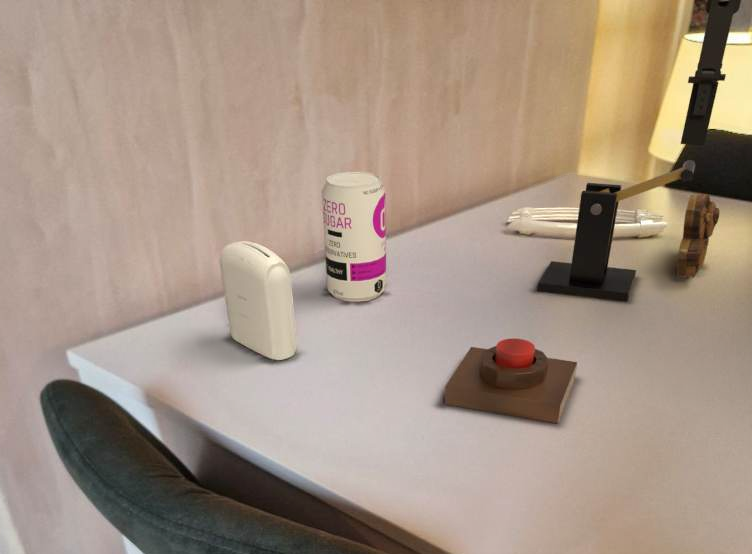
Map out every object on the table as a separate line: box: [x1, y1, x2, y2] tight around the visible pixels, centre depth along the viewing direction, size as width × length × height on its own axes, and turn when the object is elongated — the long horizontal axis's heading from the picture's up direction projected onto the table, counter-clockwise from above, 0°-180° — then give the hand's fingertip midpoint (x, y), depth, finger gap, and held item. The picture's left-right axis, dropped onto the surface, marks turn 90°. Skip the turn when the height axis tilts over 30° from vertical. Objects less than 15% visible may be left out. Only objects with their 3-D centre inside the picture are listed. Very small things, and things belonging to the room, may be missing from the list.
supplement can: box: [321, 171, 387, 303], centre depth 102 cm, size 8×8×15 cm
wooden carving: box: [676, 193, 720, 278], centre depth 108 cm, size 16×5×10 cm, turn 160°
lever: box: [600, 159, 696, 202], centre depth 97 cm, size 13×5×2 cm, turn 68°
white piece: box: [506, 206, 668, 239], centre depth 125 cm, size 3×10×25 cm
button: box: [495, 338, 536, 369], centre depth 80 cm, size 4×4×2 cm
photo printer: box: [219, 240, 298, 361], centre depth 90 cm, size 10×4×12 cm, turn 41°
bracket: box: [537, 182, 637, 302], centre depth 103 cm, size 12×9×13 cm
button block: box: [444, 345, 578, 424], centre depth 82 cm, size 12×10×4 cm
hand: (692, 143), depth 92 cm, fingers closed
